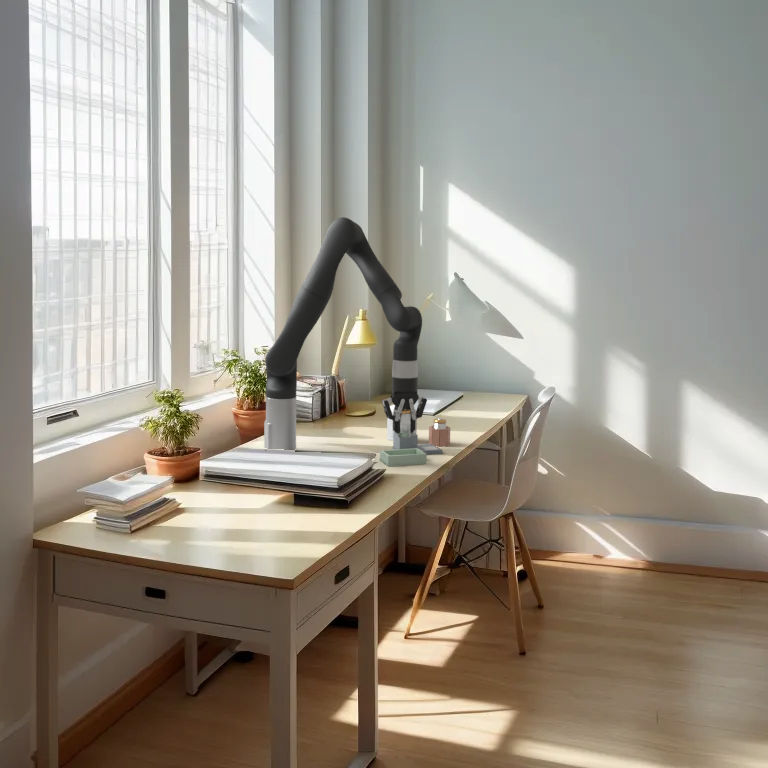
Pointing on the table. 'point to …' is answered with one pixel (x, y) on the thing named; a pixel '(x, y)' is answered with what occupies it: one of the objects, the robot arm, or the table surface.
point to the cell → (405, 424)
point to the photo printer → (390, 426)
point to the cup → (439, 436)
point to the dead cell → (439, 423)
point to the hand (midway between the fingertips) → (403, 432)
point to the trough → (403, 457)
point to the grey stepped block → (414, 444)
